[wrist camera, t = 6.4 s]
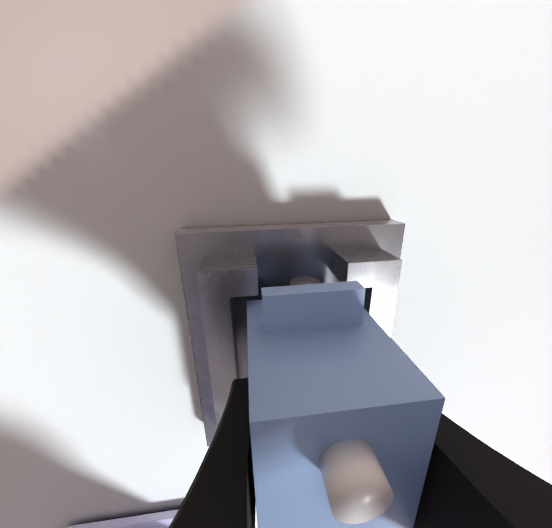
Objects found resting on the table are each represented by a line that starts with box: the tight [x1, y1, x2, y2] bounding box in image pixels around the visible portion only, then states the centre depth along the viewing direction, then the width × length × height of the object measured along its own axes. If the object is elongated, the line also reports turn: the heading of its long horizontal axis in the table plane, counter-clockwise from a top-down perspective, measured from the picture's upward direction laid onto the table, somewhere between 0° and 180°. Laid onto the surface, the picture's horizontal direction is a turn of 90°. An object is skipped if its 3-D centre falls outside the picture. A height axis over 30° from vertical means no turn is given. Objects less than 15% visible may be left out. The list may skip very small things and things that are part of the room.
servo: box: [247, 276, 445, 528], centre depth 8 cm, size 8×4×6 cm, turn 1°
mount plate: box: [175, 220, 405, 446], centre depth 12 cm, size 11×9×2 cm
